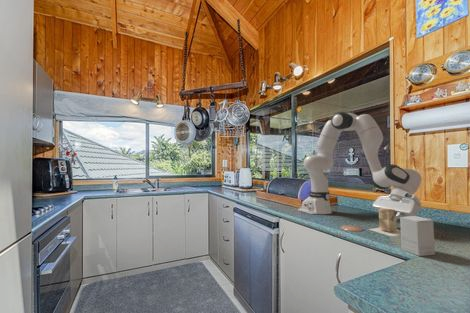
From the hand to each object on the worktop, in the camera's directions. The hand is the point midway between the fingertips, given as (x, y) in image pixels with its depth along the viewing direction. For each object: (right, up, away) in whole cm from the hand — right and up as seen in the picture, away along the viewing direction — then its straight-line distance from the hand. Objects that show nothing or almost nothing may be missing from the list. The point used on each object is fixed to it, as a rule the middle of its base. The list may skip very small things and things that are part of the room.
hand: (386, 219), depth 111 cm
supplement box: (-5, -6, -25) cm, 26 cm away
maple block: (+1, -5, 0) cm, 5 cm away
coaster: (-14, -6, +5) cm, 16 cm away
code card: (+1, -6, 0) cm, 6 cm away
